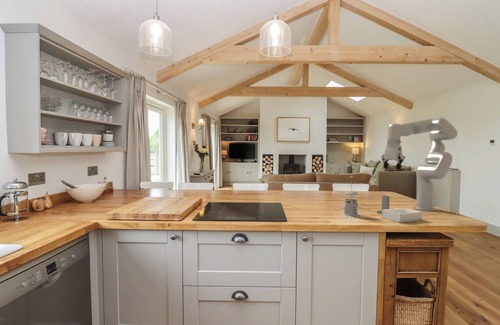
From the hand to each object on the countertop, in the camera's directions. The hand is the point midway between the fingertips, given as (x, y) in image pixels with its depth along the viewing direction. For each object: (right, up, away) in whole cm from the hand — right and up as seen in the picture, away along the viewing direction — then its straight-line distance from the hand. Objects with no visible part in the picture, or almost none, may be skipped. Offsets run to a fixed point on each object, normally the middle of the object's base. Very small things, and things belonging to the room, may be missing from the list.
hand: (391, 168), depth 172 cm
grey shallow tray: (-3, -30, -15) cm, 34 cm away
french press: (-29, -29, -5) cm, 42 cm away
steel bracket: (-4, -29, 0) cm, 29 cm away
